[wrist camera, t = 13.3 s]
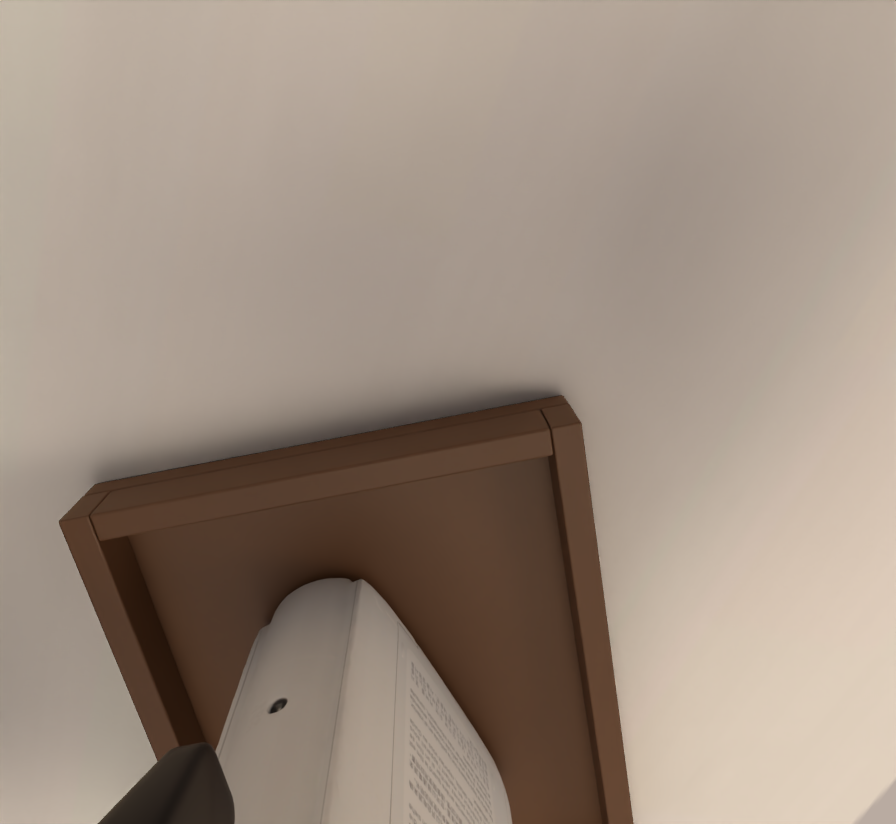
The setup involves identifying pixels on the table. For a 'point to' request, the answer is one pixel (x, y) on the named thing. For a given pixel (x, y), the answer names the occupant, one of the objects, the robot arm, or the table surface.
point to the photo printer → (351, 723)
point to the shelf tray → (381, 584)
